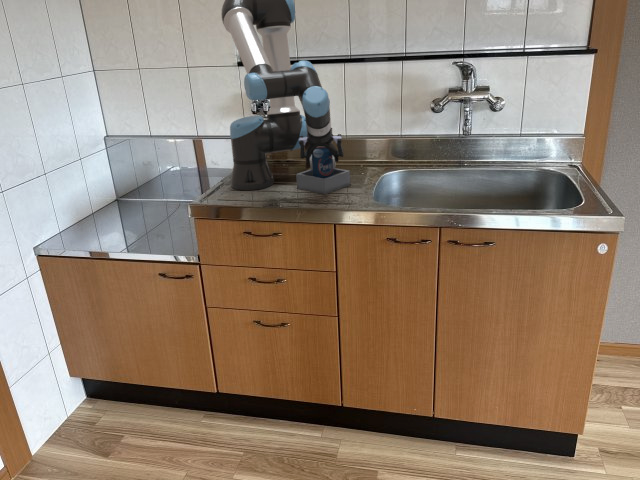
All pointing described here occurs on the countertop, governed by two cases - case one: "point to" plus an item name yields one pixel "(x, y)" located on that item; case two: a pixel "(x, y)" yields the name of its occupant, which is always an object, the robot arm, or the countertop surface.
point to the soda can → (322, 162)
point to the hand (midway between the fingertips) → (323, 165)
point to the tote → (323, 181)
